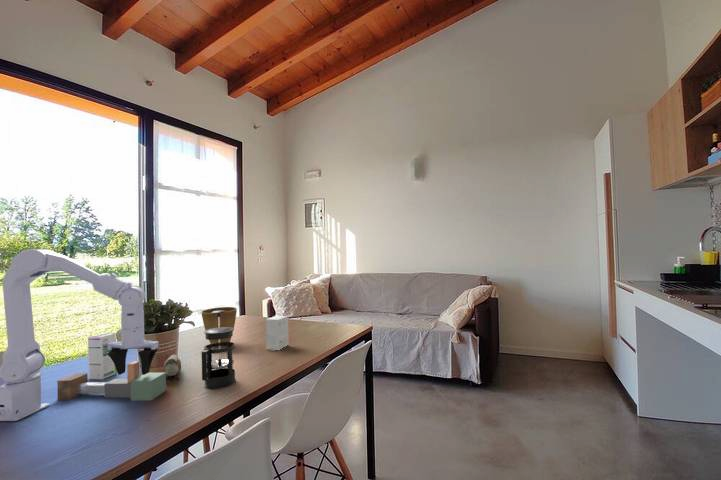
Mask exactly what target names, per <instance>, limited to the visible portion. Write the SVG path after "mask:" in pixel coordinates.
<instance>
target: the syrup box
mask: <svg viewBox="0 0 721 480" xmlns="http://www.w3.org/2000/svg"><path fill="white" fill-rule="evenodd" d="M111 342H117V334H116V332H102V333H98V334H95V335H91V336H88V337H87V350H88V351H87V353H88V354H87V355H88V358H87V359H88V379H89V380H104V379H107V378H110V377H113V376H114V375H118V373H117V370H116V367H115V365H114V363H113V361H112V359H111V358H110V357H109V356H108V353H109V352H111V350H108V343H111Z"/></svg>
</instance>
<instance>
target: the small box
mask: <svg viewBox="0 0 721 480" xmlns="http://www.w3.org/2000/svg"><path fill="white" fill-rule="evenodd" d="M264 321H265V342H266V345H265V347H266V350H267V349H273V350H272V351H275V350H279V351H281V350H283V349H284V348H283V347H285V346H287V345H289V343H290V342H289V341H290V340H289V339H290V338H289V317H288V316H287V315H273V316H272V317H269V318H266V319H265V320H264ZM287 347H288V346H287ZM282 348H283V349H282ZM285 348H286V347H285ZM280 349H281V350H280Z"/></svg>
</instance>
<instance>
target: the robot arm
mask: <svg viewBox="0 0 721 480" xmlns="http://www.w3.org/2000/svg"><path fill="white" fill-rule="evenodd" d="M49 272H64V273H66V274H69V275H71V276H74V277H76V278H78V279H80V280H82V281H84V282H88V283H89V284H91V285H92V287H93V290H94V291H95V292H97V293H99V294H101V295H103V296H106V297H108V298H110V299H112V300H114V301H118V303H119V304H120V306H121V315H120V316H121V317H120V318H121V319H120V320H121V321H120V323H121V325H120V326H121V331H120V332H121V341H116V342H111V343H108V350H111V352H109V353H108V356H109V357H110V358H111V359H112V361H113V363H114V365H115V367H116V370H117V375H118V376H119V375H123V374H124V373H126V369H127V368H126V367H127V364H126V361H127V353H128V350H140V351H138V355H139V356H138V357H139V359H140V361H141V362H140V364H141V375H145V374H147V373H150V369H151V365H152V362H153V359H154V357H155V356H156V354H157V352H158V349H159V341H157V340H147V339H145V311H144V307H145V306H144V300H145V298H146V292H145V290H144V289H143V288H142V287H141V286H139V285H133V283H132V282H130V281H128V282H126V281H124V280H123V279H120V278H118V275H117V274H116V273H113V272H112V273H111V274H110V273H109V272H104V273H101V274H100V273H99V272H96V271H94V270H92V269H91V268H89V267H87V266H85V265H83V264H81V263H79V262H78V261H76V260H74V259H73V258H70V257H68V256H67V255H64V254H62V253H59V252H55V251H54V250H52V249H45V248H44V249H35V248H28V249H24V250H21V251H20V252H19V253H17V254H16V255H14V256H13V257H12V258H11V264H10V266H9V267H8V269H7V270H6V272H5V274H4V275H3V277H2V281H1V283H2V292H3V303H4V314H5V315H4V316H5V329H6V335H7V337H6V338H7V339H6V340H7V347H6V348H5V351H4V352H3V354H2V356H1V357H2V363H1V365H0V378H1V380H3V381H4V383H3V384H2V385H1V386H0V422H17V421H19V420H21V419H23V418H25V417H28V416H30V415H33V414H34V413H36V412H39V411H40V410H43V409H45V408H47V407H49V406H51V403H43V402H42V372H41V368H42V367H44V365H45V362H46V356H45V354H44V353H43V352H42V351H41V348H40V347H41V346H40V343H38V341H36V340H35V330H34V329H35V328H34V318H33V317H34V316H33V307H32V295H31V294H32V293H31V283H33V282H34V281H35V280H36V279H37V278H39V277H40V276H41V275H44V274H46V273H49Z"/></svg>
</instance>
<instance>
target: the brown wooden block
mask: <svg viewBox="0 0 721 480" xmlns="http://www.w3.org/2000/svg"><path fill="white" fill-rule="evenodd" d="M88 379H89V377H88V373H85V372H84V373H82V372H81V373H72V374H71V375H68V376H65V377H64V378H61V379H58V380H57V382H56V384H57V400H59V401H60V400H61V401H62V400H63V401H65V400H67V401H68V400H69V401H70V400H72V399H74V398H76V397H79V396H80V395H82V394H76V385H78V384H80V383H82V382H88Z"/></svg>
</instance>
